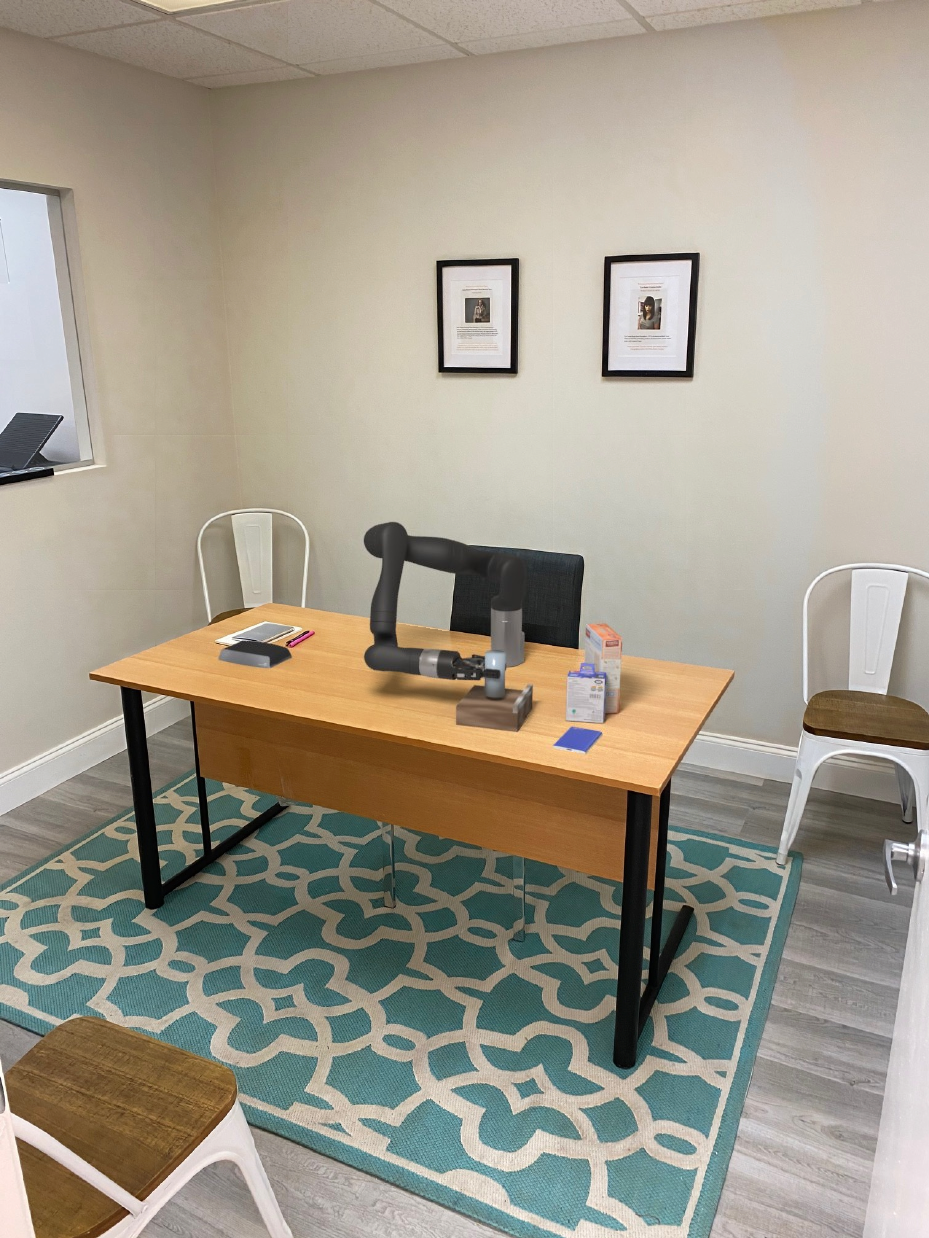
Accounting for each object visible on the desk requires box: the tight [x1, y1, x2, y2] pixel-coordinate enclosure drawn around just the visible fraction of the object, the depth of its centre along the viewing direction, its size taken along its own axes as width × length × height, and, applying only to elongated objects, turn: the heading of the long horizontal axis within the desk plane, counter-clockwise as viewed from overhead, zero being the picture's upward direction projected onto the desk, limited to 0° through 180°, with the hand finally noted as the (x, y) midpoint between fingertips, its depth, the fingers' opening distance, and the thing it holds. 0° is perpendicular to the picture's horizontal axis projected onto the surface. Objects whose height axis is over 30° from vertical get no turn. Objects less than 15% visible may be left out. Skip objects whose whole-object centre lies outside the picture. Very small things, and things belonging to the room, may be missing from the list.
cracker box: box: [583, 622, 623, 715], centre depth 247 cm, size 14×6×21 cm, turn 9°
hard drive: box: [552, 726, 603, 755], centre depth 227 cm, size 2×8×12 cm
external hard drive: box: [218, 640, 293, 670], centre depth 288 cm, size 13×19×4 cm
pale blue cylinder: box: [484, 649, 506, 698], centre depth 239 cm, size 5×5×11 cm
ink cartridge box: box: [565, 662, 607, 724], centre depth 239 cm, size 10×6×14 cm, turn 78°
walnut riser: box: [455, 683, 534, 733], centre depth 242 cm, size 16×16×7 cm
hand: (502, 670), depth 238 cm, fingers closed on pale blue cylinder, 5 cm apart
